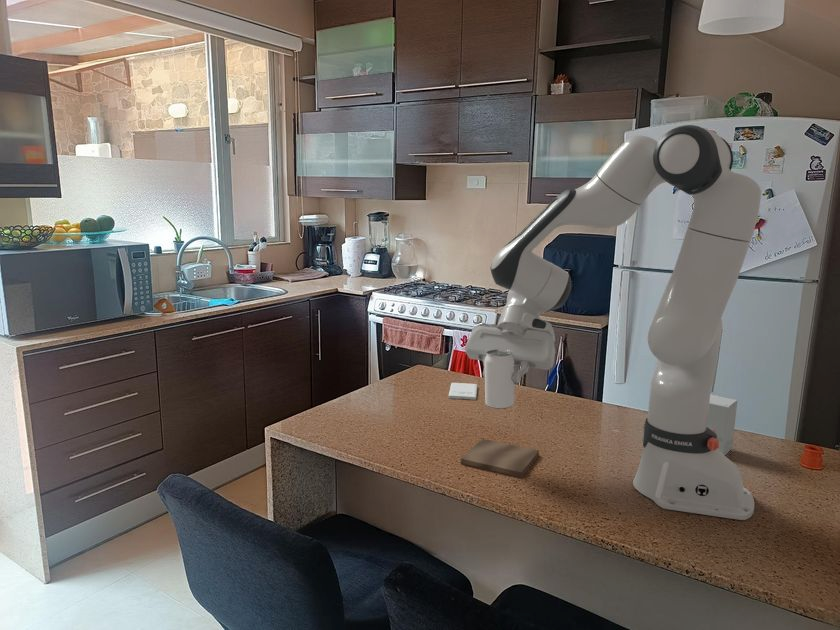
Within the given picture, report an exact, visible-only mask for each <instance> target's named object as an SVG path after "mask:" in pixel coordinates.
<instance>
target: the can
mask: <svg viewBox="0 0 840 630" xmlns="http://www.w3.org/2000/svg"><path fill="white" fill-rule="evenodd" d="M498 350H499V349H498ZM506 351H508V352H502V351H497V350H490V351H487V352H486V353H487V355H486V357H485V377H484V400H485V401H484V402H485V403H484V404H485V405H486V406H487V407H488V408H491V409H496V410H505V409H510V408H512V407H513V406H514V405H515V382H513V381H512V376H513V372H515V365H514V358H513V356H512V352H511V351H509V350H506Z"/></svg>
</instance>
